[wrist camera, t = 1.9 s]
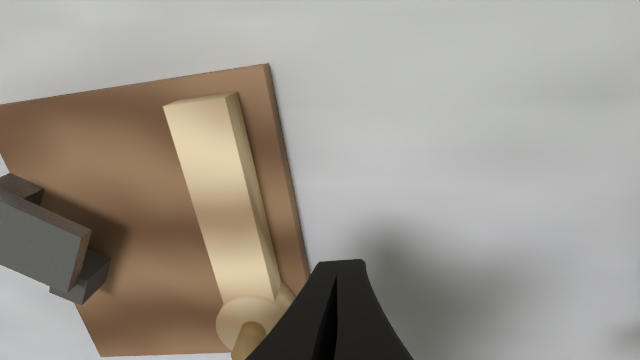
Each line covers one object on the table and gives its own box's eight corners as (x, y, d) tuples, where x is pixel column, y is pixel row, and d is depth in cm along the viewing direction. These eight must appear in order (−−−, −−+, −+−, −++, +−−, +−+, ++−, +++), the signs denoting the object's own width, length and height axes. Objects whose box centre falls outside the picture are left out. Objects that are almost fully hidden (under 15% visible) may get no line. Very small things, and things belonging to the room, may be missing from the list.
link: (302, 329, 23) (292, 385, 20) (237, 332, 24) (215, 387, 20) (250, 89, 18) (222, 105, 14) (167, 101, 19) (120, 119, 15)
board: (321, 335, 25) (319, 349, 24) (111, 343, 28) (100, 356, 26) (268, 63, 19) (262, 65, 18) (-2, 105, 21) (-22, 109, 20)
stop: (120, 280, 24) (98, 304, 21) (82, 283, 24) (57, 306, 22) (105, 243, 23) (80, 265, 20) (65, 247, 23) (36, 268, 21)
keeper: (105, 258, 23) (66, 293, 20) (4, 213, 22) (-51, 242, 19) (120, 208, 21) (81, 238, 18) (12, 158, 21) (-47, 180, 18)
